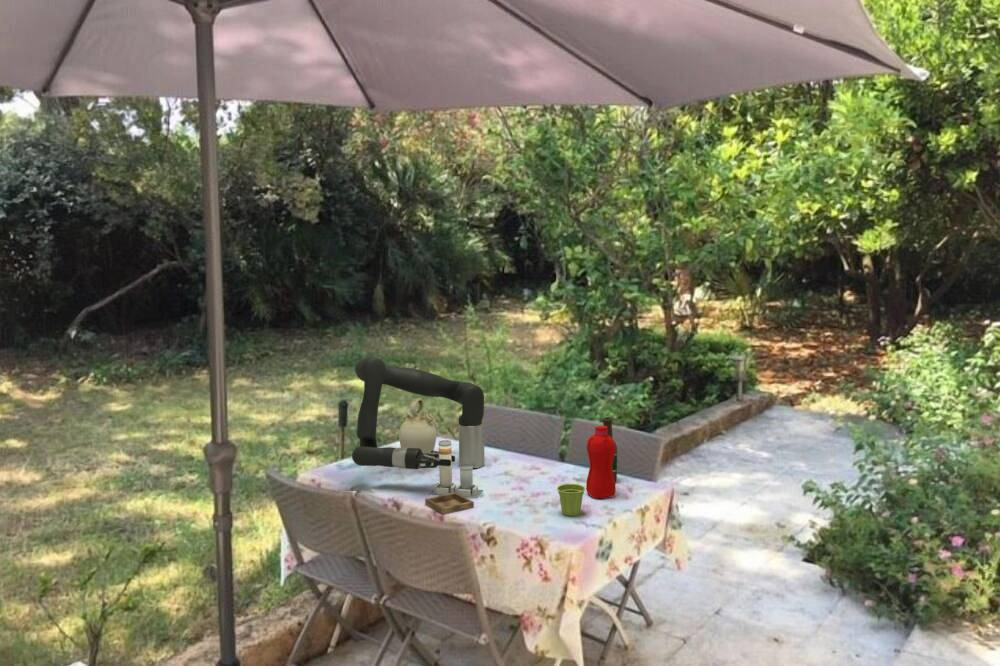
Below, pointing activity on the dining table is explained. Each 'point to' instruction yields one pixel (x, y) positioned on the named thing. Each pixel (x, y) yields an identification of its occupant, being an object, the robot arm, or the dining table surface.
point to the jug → (418, 429)
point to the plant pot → (571, 498)
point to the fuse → (466, 477)
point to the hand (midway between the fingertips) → (452, 460)
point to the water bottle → (601, 464)
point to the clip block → (453, 489)
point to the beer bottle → (608, 423)
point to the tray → (449, 503)
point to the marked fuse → (445, 471)
